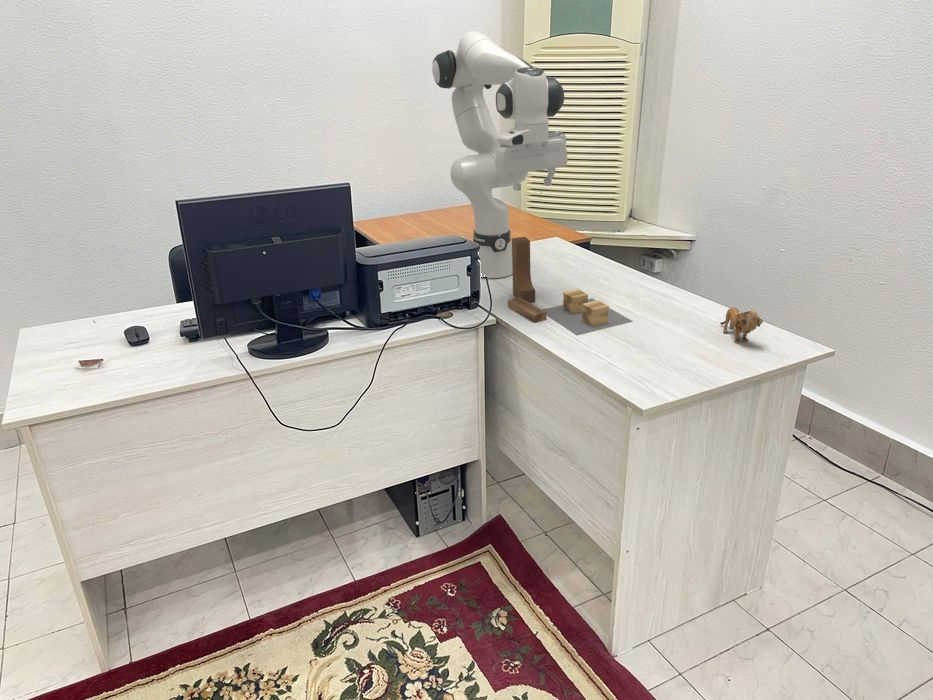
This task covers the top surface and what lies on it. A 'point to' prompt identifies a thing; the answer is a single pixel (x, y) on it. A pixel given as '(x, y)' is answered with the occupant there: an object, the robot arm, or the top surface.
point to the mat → (579, 326)
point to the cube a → (574, 301)
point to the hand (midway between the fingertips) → (532, 187)
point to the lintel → (527, 310)
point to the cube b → (595, 313)
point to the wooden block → (522, 269)
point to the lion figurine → (741, 322)
